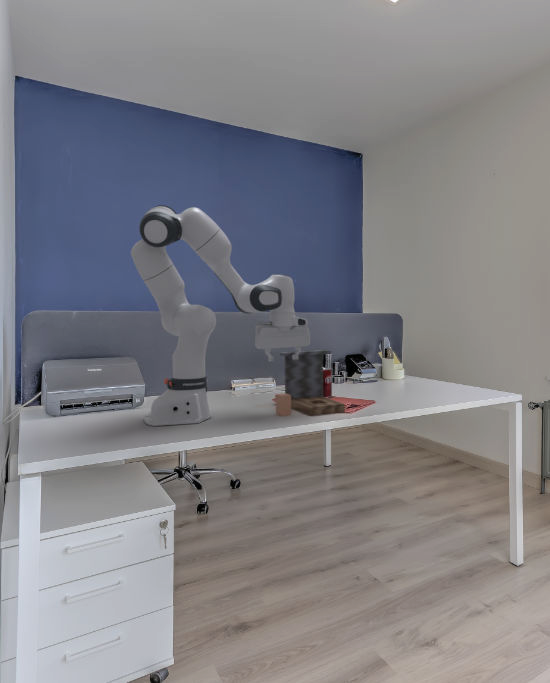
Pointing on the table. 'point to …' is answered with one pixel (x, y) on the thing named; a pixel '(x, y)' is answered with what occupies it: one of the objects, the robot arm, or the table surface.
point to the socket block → (308, 383)
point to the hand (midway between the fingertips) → (283, 360)
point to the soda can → (327, 382)
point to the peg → (283, 404)
